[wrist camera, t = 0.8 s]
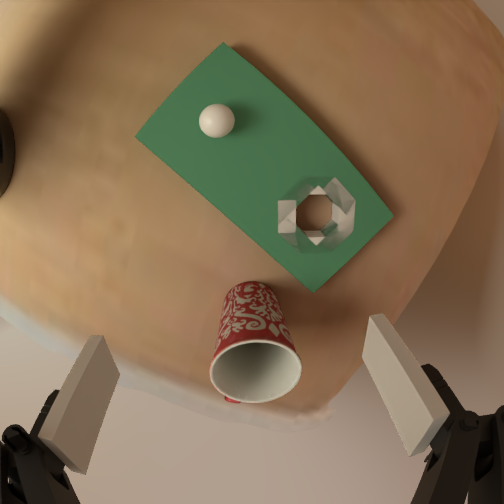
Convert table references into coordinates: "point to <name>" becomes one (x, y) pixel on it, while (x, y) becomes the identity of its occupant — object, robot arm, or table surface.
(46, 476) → the robot arm
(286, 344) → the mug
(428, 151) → the table surface
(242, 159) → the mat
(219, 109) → the ball
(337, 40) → the table surface
